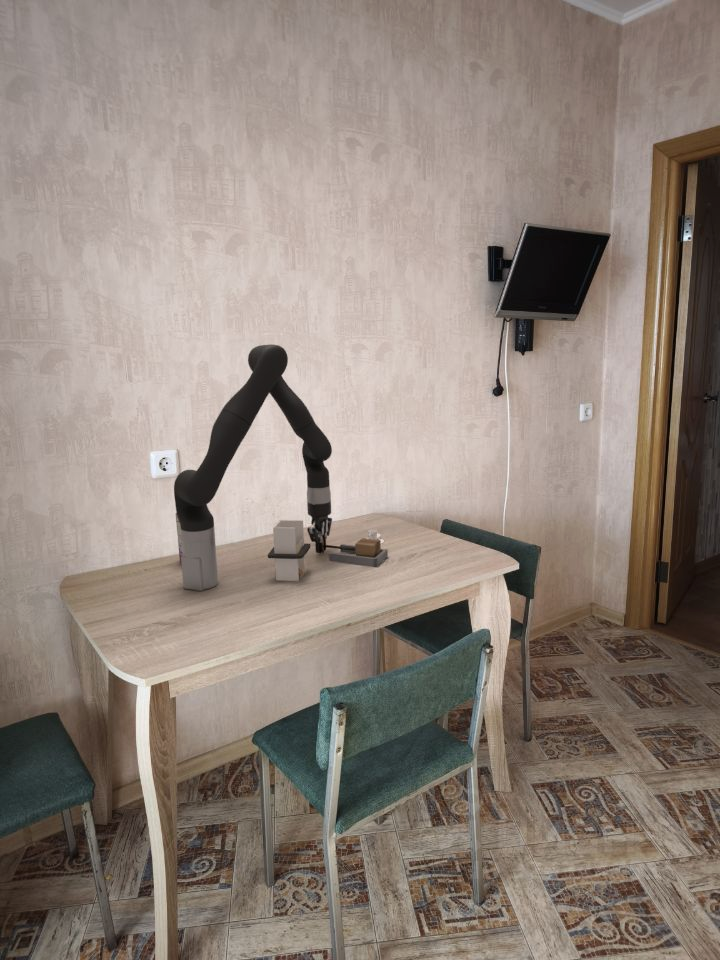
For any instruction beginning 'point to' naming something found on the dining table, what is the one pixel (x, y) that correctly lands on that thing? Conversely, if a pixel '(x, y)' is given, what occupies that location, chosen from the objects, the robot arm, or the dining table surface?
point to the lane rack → (357, 557)
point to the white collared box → (289, 549)
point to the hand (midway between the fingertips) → (321, 551)
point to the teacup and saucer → (374, 535)
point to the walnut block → (362, 547)
